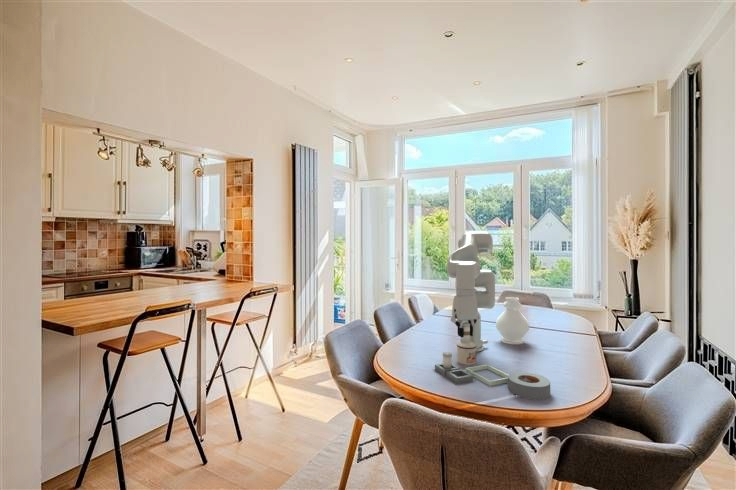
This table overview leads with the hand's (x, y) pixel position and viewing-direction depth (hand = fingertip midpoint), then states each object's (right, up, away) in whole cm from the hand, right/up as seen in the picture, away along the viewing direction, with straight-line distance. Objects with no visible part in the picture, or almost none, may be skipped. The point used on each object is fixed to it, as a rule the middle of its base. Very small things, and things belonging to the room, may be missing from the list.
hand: (465, 335), depth 151 cm
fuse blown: (0, -3, 0) cm, 3 cm away
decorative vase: (+42, -17, +56) cm, 72 cm away
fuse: (-6, -18, +8) cm, 21 cm away
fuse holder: (-4, -19, +4) cm, 20 cm away
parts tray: (+11, -19, +2) cm, 22 cm away
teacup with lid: (+7, -19, +22) cm, 29 cm away
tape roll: (+22, -20, -10) cm, 31 cm away
